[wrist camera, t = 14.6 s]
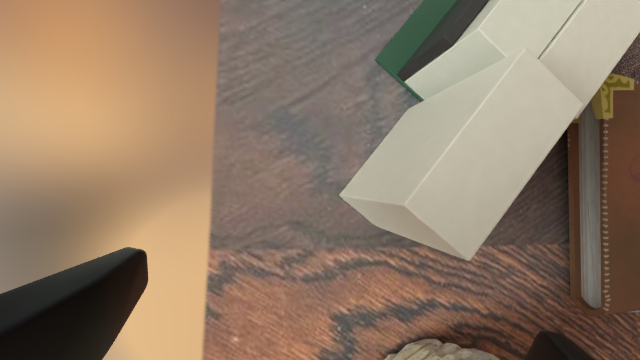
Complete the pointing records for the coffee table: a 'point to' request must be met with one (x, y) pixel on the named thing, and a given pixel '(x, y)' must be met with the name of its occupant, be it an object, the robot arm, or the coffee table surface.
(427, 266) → the coffee table surface
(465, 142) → the cream rectangular block
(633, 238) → the book
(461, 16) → the cream and green block
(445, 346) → the fossil tooth
